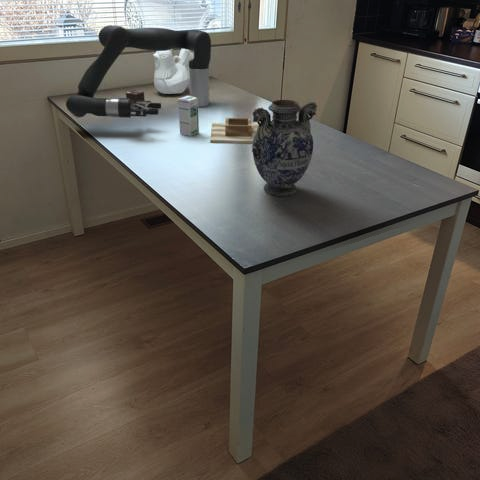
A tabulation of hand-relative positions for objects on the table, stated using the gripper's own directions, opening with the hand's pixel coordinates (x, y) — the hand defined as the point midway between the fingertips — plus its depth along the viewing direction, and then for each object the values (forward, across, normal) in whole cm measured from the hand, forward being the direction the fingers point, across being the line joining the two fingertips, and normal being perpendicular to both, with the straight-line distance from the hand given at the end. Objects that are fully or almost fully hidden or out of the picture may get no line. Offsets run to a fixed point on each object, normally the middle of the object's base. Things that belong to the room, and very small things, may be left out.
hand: (159, 108), depth 210 cm
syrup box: (+12, 0, +10) cm, 15 cm away
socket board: (+32, 0, +10) cm, 33 cm away
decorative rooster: (+1, +63, +10) cm, 64 cm away
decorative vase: (+45, -54, +10) cm, 71 cm away
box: (-16, +35, +10) cm, 40 cm away
